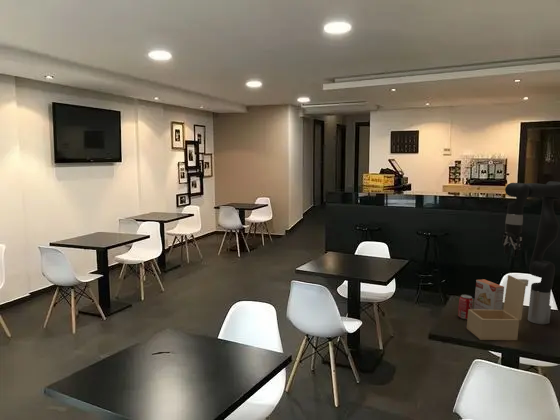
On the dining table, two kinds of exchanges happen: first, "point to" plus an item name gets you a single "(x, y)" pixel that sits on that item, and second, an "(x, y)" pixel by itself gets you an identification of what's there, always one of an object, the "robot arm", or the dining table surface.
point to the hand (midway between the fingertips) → (511, 255)
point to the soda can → (465, 306)
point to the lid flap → (515, 296)
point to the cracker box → (488, 295)
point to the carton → (492, 324)
